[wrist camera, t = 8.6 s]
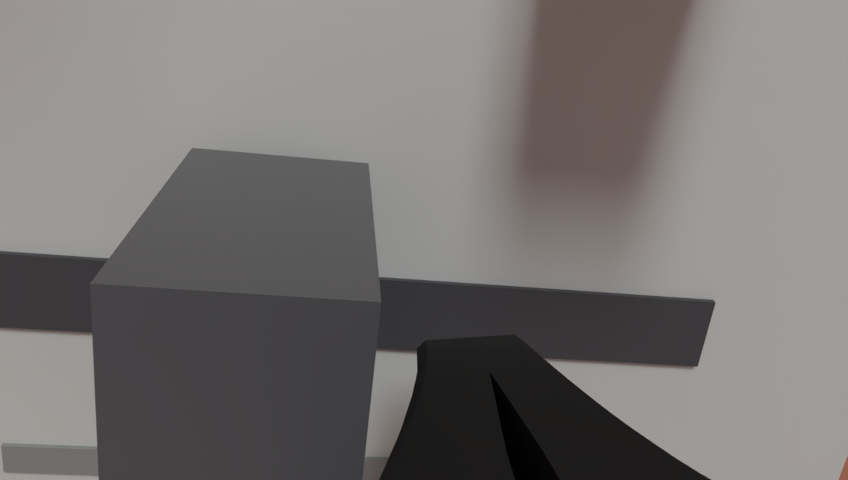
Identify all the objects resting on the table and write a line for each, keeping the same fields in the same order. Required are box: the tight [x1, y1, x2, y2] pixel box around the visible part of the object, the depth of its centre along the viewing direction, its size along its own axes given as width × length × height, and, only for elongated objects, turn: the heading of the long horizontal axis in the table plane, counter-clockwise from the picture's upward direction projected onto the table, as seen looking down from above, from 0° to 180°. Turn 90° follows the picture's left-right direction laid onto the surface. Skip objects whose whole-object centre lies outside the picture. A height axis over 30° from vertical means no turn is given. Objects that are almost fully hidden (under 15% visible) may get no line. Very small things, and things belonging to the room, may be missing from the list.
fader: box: [90, 148, 381, 480], centre depth 9 cm, size 2×5×4 cm, turn 173°
